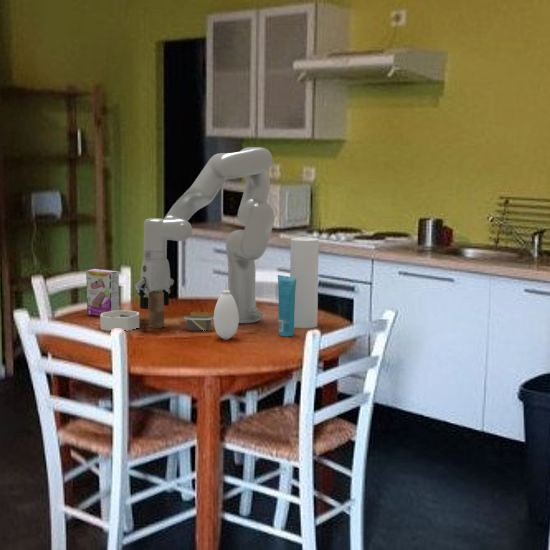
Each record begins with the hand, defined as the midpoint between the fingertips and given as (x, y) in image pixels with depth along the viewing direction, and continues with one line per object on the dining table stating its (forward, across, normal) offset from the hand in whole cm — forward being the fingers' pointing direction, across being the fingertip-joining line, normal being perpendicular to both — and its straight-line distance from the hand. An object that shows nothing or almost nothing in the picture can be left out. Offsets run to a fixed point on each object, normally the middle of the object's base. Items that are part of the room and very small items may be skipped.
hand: (154, 306), depth 269 cm
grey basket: (+7, +5, -15) cm, 17 cm away
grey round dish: (+7, -6, +10) cm, 14 cm away
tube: (+6, +18, -41) cm, 45 cm away
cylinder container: (+6, +34, -37) cm, 51 cm away
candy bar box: (+8, +4, +29) cm, 30 cm away
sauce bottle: (+7, +2, -29) cm, 30 cm away
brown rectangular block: (+7, +1, 0) cm, 7 cm away
